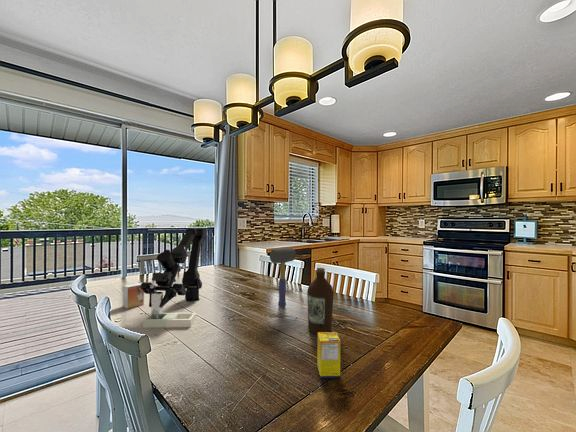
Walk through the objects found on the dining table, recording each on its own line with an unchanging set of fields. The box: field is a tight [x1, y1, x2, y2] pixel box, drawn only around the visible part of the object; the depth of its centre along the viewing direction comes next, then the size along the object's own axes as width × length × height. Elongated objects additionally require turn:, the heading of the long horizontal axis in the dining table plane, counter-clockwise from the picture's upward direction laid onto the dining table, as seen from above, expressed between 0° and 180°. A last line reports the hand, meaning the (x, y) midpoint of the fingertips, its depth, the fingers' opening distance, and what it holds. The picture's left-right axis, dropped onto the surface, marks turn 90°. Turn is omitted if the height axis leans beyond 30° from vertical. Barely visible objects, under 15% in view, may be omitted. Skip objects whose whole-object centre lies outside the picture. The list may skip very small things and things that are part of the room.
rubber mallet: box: [269, 247, 297, 309], centre depth 137 cm, size 12×8×30 cm, turn 131°
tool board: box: [141, 312, 197, 329], centre depth 115 cm, size 19×8×3 cm, turn 93°
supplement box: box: [316, 331, 341, 379], centre depth 81 cm, size 6×6×11 cm
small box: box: [122, 282, 145, 309], centre depth 136 cm, size 8×6×10 cm
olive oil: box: [306, 267, 335, 335], centre depth 111 cm, size 11×11×25 cm
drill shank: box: [150, 291, 164, 319], centre depth 115 cm, size 4×4×12 cm
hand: (155, 307), depth 114 cm, fingers closed on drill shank, 4 cm apart
